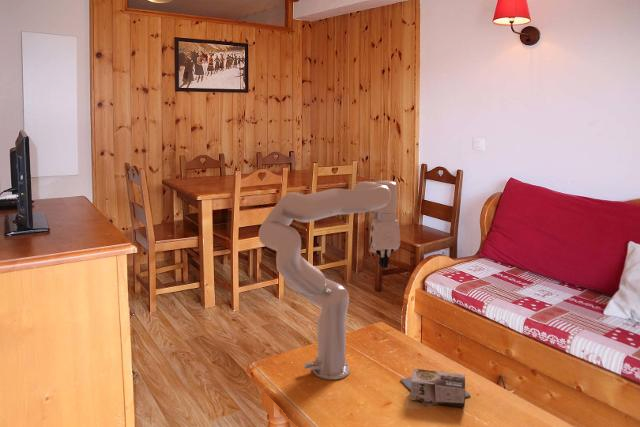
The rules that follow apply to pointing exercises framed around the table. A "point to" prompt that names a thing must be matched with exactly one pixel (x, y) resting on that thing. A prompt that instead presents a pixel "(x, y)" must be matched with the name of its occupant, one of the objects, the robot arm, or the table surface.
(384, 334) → the table surface
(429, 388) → the coffee box
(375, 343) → the table surface
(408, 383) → the mat
